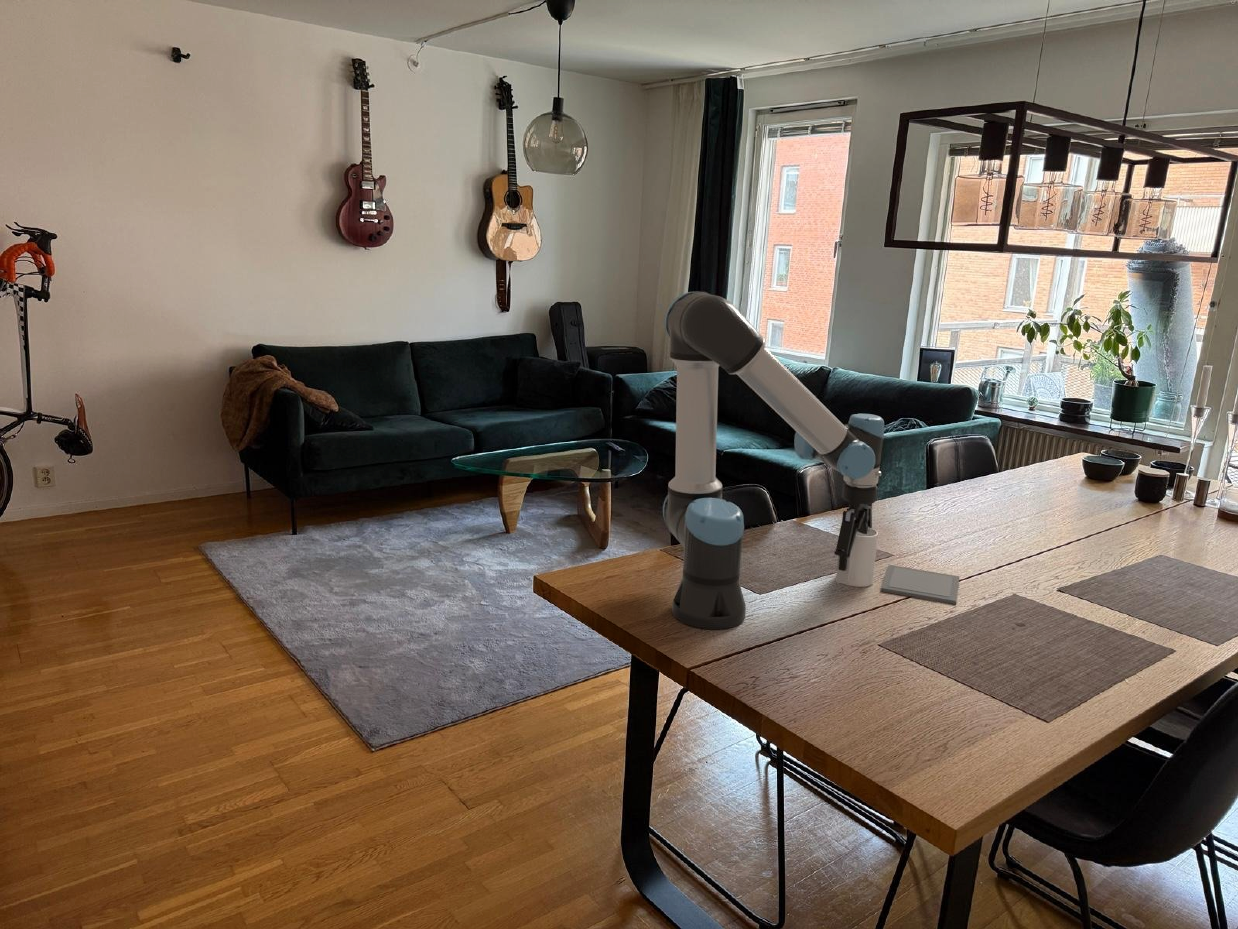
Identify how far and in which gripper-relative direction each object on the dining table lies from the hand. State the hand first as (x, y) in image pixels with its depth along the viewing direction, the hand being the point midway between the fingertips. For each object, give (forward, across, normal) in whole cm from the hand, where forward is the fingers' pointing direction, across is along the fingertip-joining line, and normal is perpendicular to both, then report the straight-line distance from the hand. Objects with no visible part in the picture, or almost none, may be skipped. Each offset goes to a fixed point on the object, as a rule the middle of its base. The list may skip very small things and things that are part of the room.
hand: (850, 574), depth 203 cm
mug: (+2, 0, 0) cm, 2 cm away
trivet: (+2, +8, -14) cm, 16 cm away
